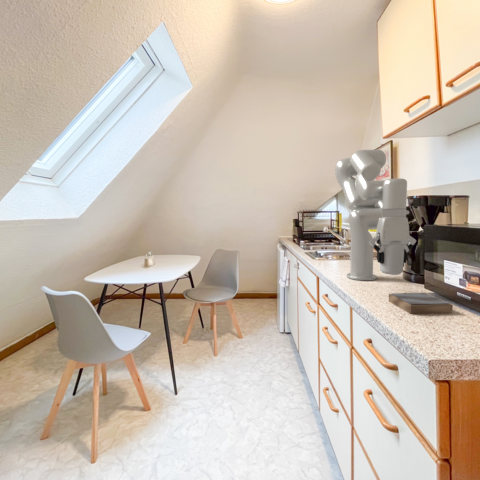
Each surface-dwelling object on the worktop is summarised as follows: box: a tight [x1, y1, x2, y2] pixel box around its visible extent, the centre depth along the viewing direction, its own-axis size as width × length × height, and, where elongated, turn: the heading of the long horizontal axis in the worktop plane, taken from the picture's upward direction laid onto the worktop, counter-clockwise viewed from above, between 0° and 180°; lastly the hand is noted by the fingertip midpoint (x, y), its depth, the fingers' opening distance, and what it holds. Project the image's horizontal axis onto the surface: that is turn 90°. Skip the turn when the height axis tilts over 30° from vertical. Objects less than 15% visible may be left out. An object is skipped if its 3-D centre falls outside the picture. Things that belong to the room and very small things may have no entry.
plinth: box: [388, 292, 454, 315], centre depth 86 cm, size 12×12×3 cm
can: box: [379, 242, 405, 276], centre depth 100 cm, size 8×8×12 cm
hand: (391, 262), depth 100 cm, fingers closed on can, 7 cm apart
